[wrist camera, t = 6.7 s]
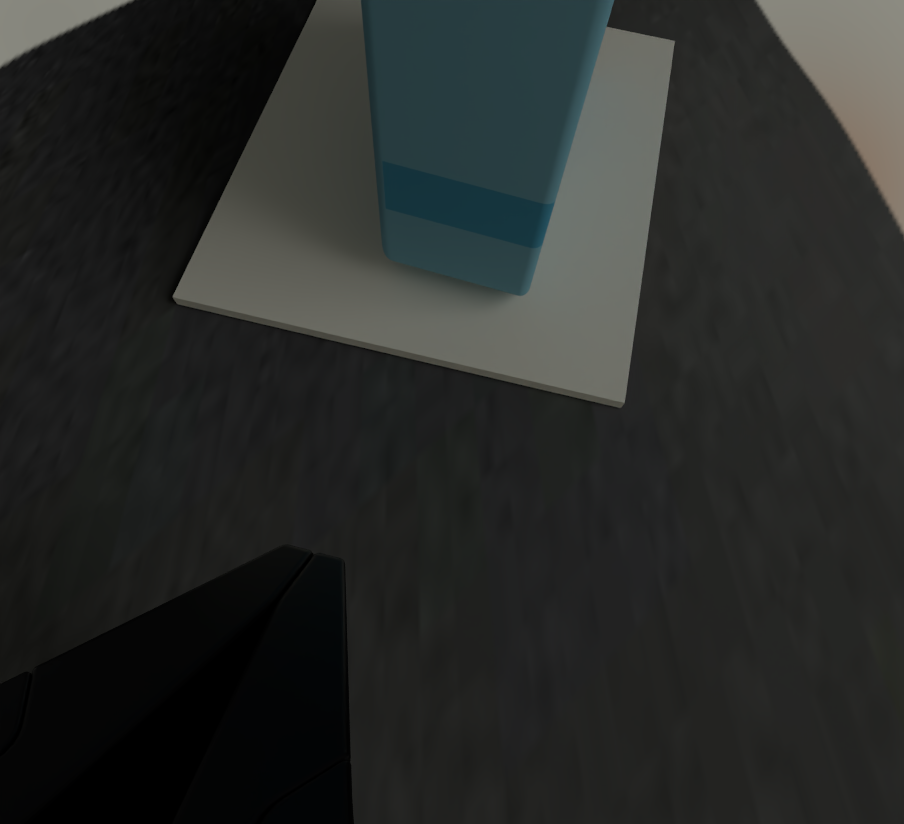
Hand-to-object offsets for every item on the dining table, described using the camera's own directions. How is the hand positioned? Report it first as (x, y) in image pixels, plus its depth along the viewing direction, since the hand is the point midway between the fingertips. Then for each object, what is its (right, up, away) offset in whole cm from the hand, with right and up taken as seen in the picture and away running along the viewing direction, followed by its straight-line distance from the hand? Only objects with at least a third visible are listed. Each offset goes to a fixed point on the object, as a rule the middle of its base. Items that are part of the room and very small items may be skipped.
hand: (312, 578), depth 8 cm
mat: (+2, +11, +14) cm, 18 cm away
